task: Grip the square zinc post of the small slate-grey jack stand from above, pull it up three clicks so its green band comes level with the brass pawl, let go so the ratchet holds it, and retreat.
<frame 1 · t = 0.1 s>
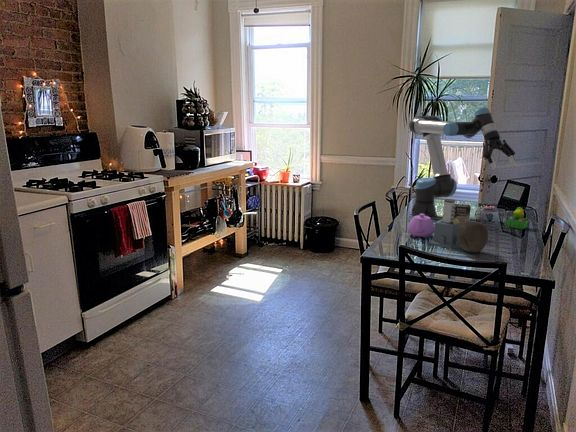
hand: (504, 167, 244), 36 cm above the table, tool tilted 35°, fingers open, 13 cm apart
column: (448, 220, 232), point 12 cm above the table, slide at 0.0 cm
coffee box: (458, 234, 251), on the table
brown round ball: (471, 252, 222), on the table
teapot: (420, 236, 247), on the table
fruit basket: (516, 227, 264), on the table
stand base: (446, 242, 236), on the table
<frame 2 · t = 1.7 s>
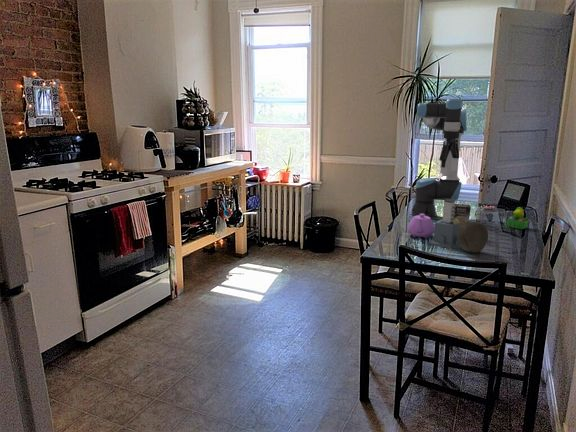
hand: (448, 172, 237), 35 cm above the table, tool pointing down, fingers open, 13 cm apart
nothing on the table moved.
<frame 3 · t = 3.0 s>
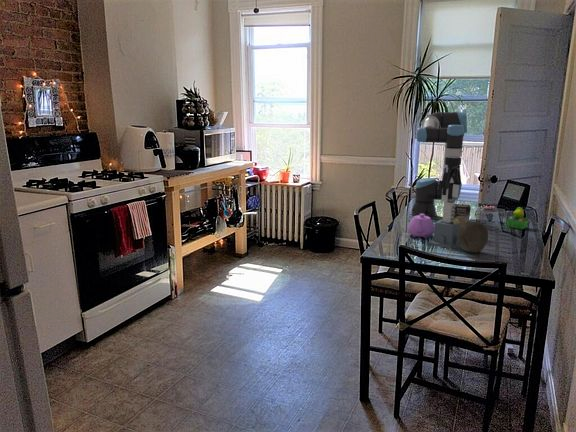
hand: (449, 199, 230), 23 cm above the table, tool pointing down, fingers open, 13 cm apart
nothing on the table moved.
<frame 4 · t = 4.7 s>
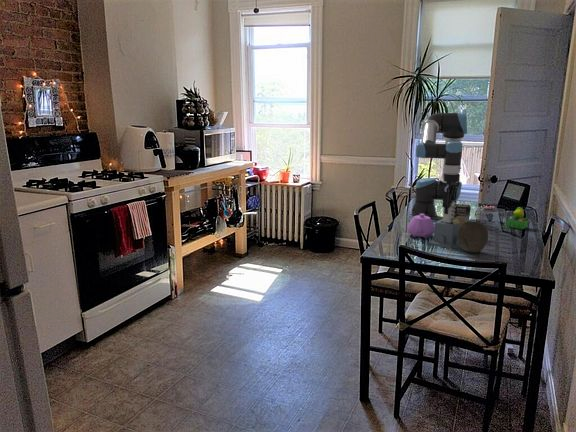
hand: (448, 218, 232), 13 cm above the table, tool pointing down, fingers closed on column, 4 cm apart
column: (448, 220, 232), point 12 cm above the table, slide at 0.0 cm, touching gripper
everything else where it was.
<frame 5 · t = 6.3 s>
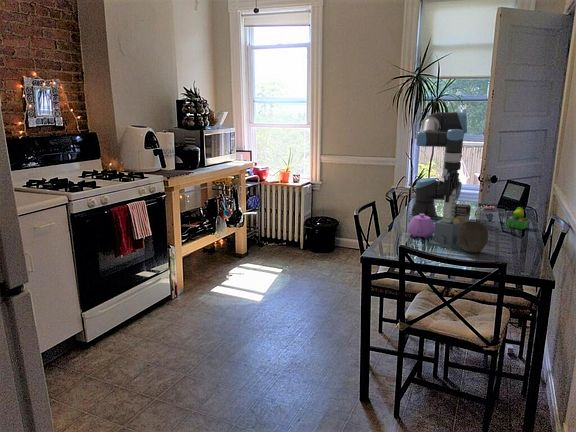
hand: (449, 207, 231), 19 cm above the table, tool pointing down, fingers closed on column, 4 cm apart
column: (449, 208, 231), point 18 cm above the table, slide at 5.9 cm, touching gripper
everything else where it was.
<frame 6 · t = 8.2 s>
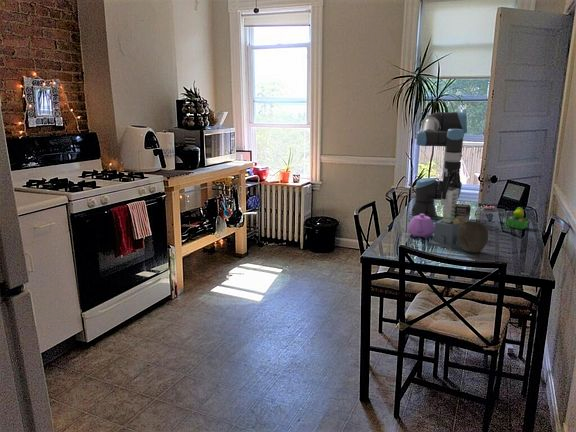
hand: (449, 203, 230), 21 cm above the table, tool pointing down, fingers open, 13 cm apart
column: (449, 208, 231), point 18 cm above the table, slide at 6.2 cm
everything else where it was.
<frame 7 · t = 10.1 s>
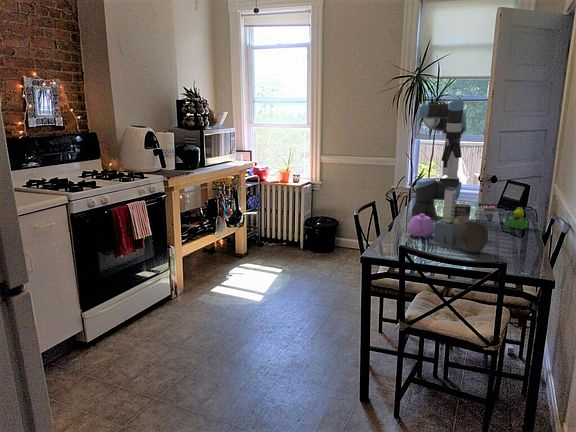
hand: (450, 171, 243), 34 cm above the table, tool pointing down, fingers open, 13 cm apart
nothing on the table moved.
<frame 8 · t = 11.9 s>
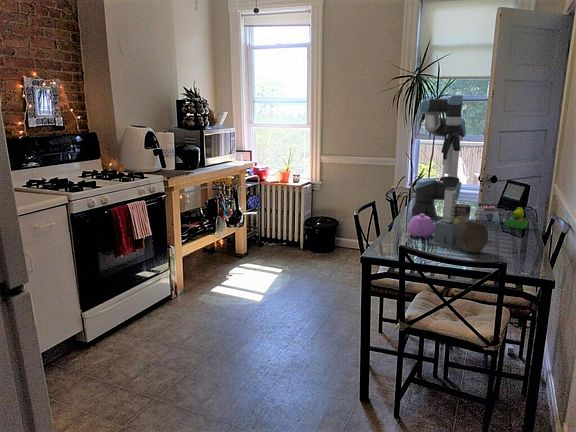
hand: (449, 163, 254), 37 cm above the table, tool pointing down, fingers open, 13 cm apart
nothing on the table moved.
at the end: column slide at 6.2 cm; the gripper is holding nothing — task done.
